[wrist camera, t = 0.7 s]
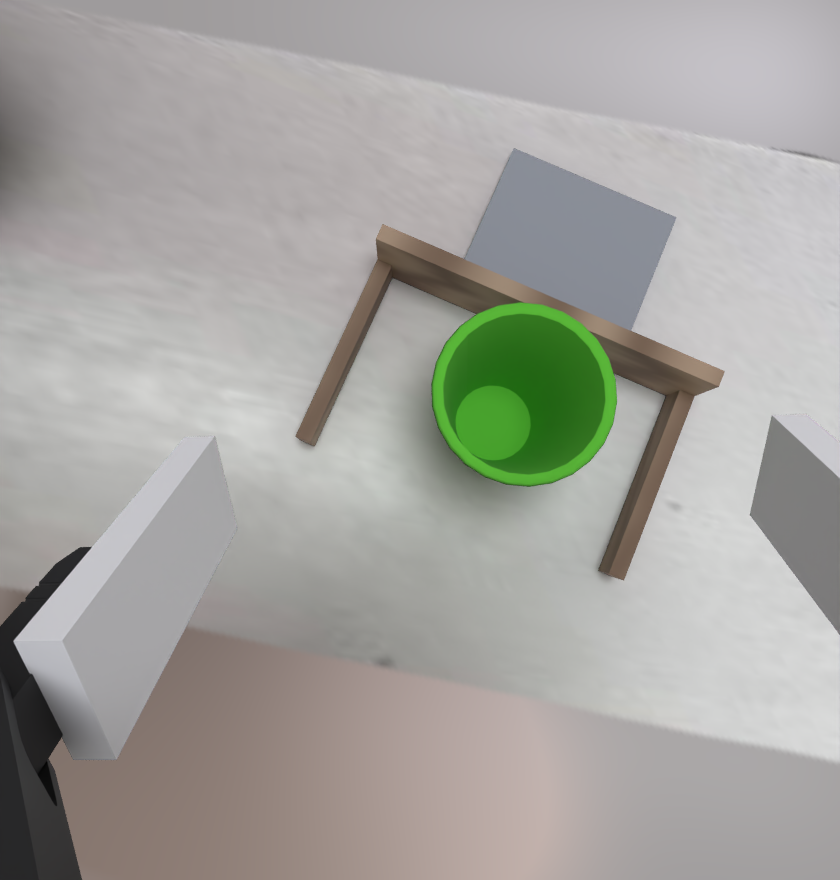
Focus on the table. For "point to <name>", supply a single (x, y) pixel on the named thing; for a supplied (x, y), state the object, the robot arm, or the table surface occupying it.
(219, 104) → the table surface
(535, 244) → the mat
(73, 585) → the robot arm
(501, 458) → the cup
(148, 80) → the table surface
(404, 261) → the stall
